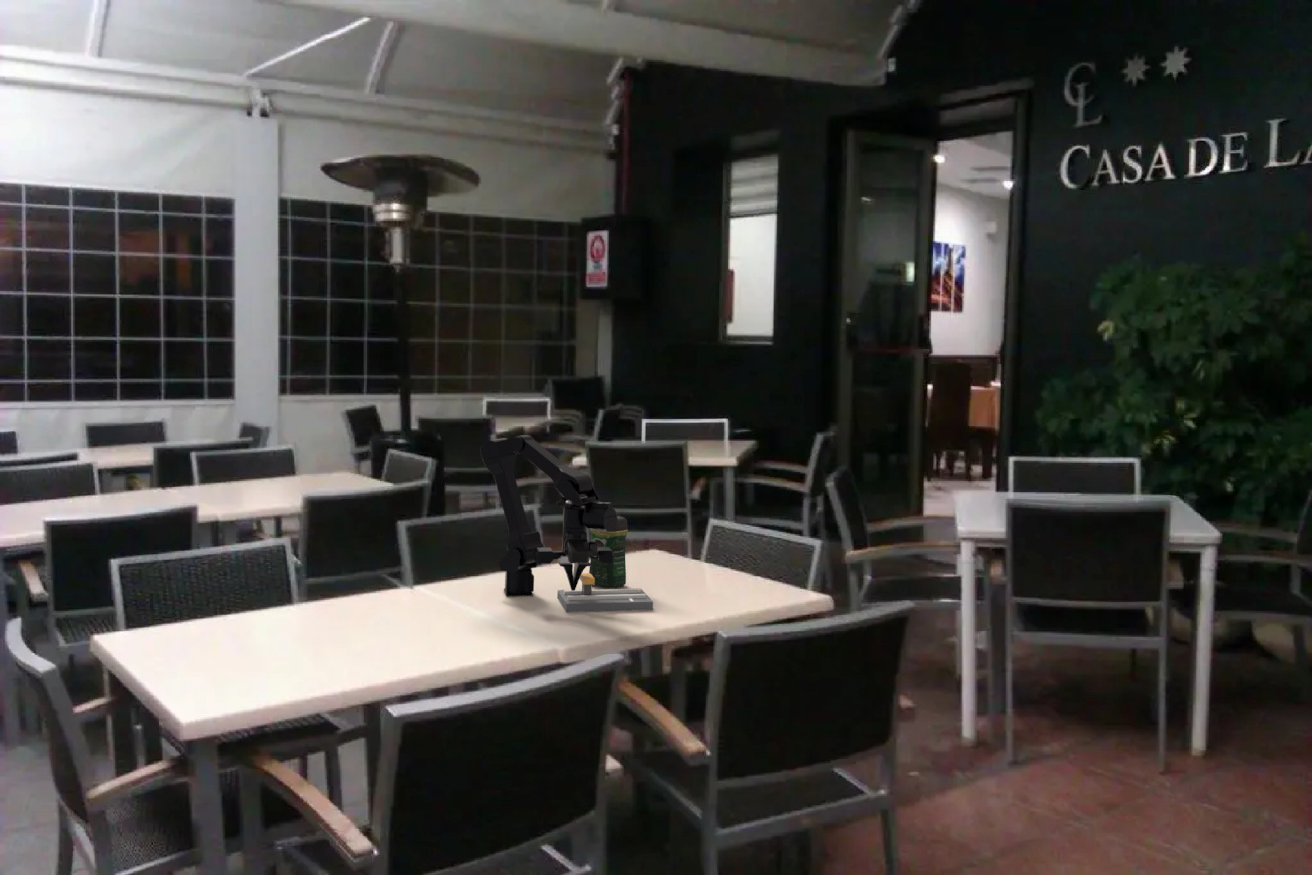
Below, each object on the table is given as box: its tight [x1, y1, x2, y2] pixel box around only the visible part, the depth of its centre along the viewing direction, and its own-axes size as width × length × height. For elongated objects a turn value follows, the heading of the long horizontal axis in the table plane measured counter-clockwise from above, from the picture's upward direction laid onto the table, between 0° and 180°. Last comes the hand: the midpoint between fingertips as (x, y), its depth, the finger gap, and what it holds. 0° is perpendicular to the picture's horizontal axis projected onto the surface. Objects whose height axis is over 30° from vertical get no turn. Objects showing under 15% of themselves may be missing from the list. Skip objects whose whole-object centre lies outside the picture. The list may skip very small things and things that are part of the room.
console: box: [557, 587, 654, 613], centre depth 272 cm, size 21×13×3 cm, turn 104°
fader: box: [579, 572, 595, 595], centre depth 271 cm, size 3×6×5 cm, turn 14°
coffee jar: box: [588, 515, 629, 589], centre depth 290 cm, size 10×8×19 cm
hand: (572, 590), depth 270 cm, fingers closed
